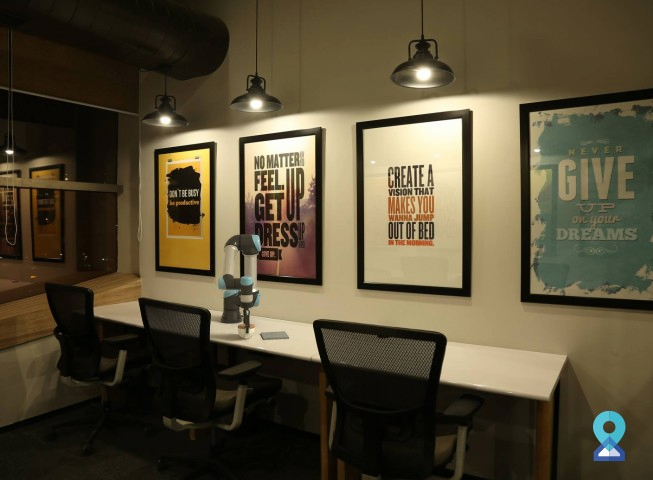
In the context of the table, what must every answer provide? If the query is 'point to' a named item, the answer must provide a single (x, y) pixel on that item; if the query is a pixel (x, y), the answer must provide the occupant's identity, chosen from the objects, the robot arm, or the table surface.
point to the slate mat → (274, 335)
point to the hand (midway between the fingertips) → (246, 336)
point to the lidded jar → (242, 330)
